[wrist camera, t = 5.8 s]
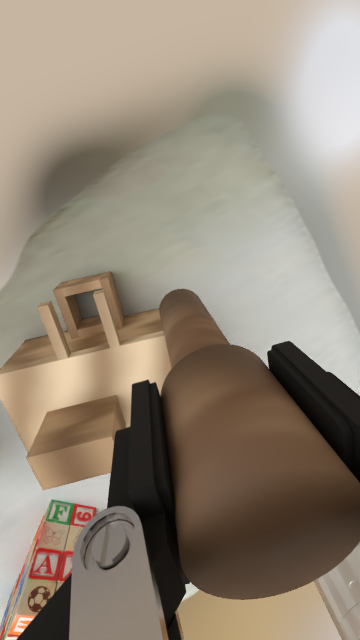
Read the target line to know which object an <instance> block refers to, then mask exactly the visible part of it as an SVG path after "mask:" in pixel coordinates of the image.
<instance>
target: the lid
mask: <svg viewBox="0 0 360 640" xmlns="http://www.w3.org/2000/svg"><path fill="white" fill-rule="evenodd" d="M93 296H94V300H95V303H96V306H97V309H98V312H99V315H100V318H101V321H102V325H103V328H104V331H105V334H106V337H107V340H108V343H109V344H105V345H101V346H97V347H92V348H88V349H84V350H80V351H75V352H70V349H69V346H68V344H67V341H66V338H65V336H64V333H63V330H62V328H61V325H60V322H59V320H58V317H57V315H56V312H55V309H54V307H53V304H52V301H49V302H45V303H41V304H40V305H39V306H38V307H37V309H38V311H39V314H40V316H41V319H42V321H43V324H44V326H45V329H46V331H47V334H48V336H49V339H50V341H51V344H52V346H53V349H54V351H55V353H56V356H54V357H50V358H46V359H42V360H37V361H33V362H29V363H25V364H20V365H16V366H12V367H8V368H4V369H0V399H1V401H2V403H3V405H4V407H5V409H6V411H7V413H8V415H9V417H10V419H11V421H12V423H13V425H14V427H15V429H16V430H17V432H18V434H19V436H20V438H21V440H22V442H23V444H24V446H25V448H26V450H27V452H28V455H27V457H26V459H27V461H28V463H29V465H30V466H31V468H32V470H33V472H34V474H35V476H36V478H37V480H38V482H39V484H40V486H41V487H42V489H43V490H46V489H50V488H54V487H58V486H61V485H65V484H69V483H73V482H77V481H80V480H84V479H88V478H92V477H96V476H100V475H103V474H107V473H111V467H112V458H113V448H114V439H115V433H116V431H117V430H120V429H124V428H127V427H130V420H131V394H132V384H134V383H137V382H141V381H145V380H149V382H150V383H154V382H156V384H157V387H158V390H159V393H160V396H161V389H162V385H163V383H164V380H165V378H166V376H167V375H168V373H169V372H170V370H171V364H170V359H169V355H168V350H167V346H166V341H165V336H164V332H163V331H160V332H156V333H152V334H147V335H143V336H139V337H135V338H131V339H126V340H122V341H120V338H119V334H118V331H117V328H116V324H115V321H114V318H113V314H112V311H111V308H110V305H109V301H108V298H107V295H106V291H105V289H103V290H98V291H95V292H94V294H93Z"/></svg>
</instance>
